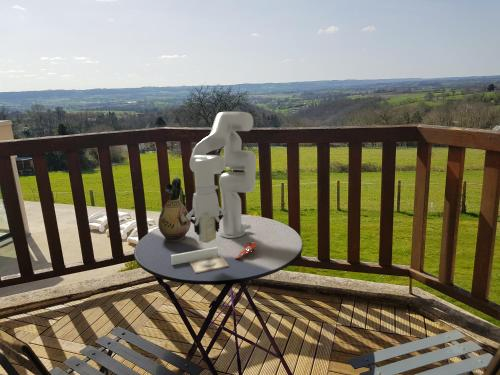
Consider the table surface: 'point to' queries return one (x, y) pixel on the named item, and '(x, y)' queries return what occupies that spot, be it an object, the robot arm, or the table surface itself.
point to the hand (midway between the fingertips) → (207, 232)
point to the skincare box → (207, 228)
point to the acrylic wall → (194, 255)
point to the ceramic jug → (174, 215)
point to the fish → (247, 249)
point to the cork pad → (208, 264)
